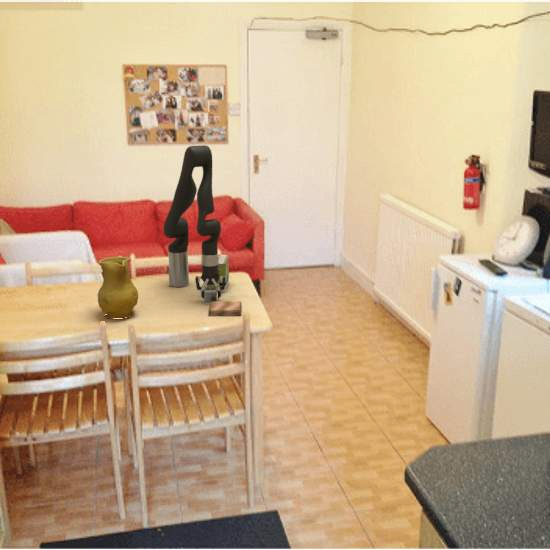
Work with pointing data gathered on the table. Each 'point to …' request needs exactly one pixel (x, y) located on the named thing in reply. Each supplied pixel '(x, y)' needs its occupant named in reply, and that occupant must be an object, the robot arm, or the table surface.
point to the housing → (210, 294)
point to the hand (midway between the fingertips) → (211, 297)
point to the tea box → (223, 270)
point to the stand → (225, 308)
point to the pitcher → (117, 288)
